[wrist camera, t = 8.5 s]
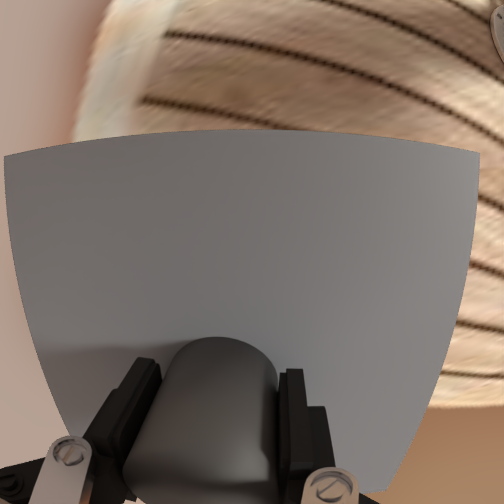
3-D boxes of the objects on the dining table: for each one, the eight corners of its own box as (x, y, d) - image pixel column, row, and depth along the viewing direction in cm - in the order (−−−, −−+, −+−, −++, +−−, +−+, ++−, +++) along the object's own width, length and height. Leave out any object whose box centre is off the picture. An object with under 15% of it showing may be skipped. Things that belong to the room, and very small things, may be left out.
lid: (27, 154, 11) (-98, 169, 4) (457, 152, 10) (592, 162, 4) (96, 452, 15) (56, 529, 9) (381, 471, 14) (403, 560, 8)
